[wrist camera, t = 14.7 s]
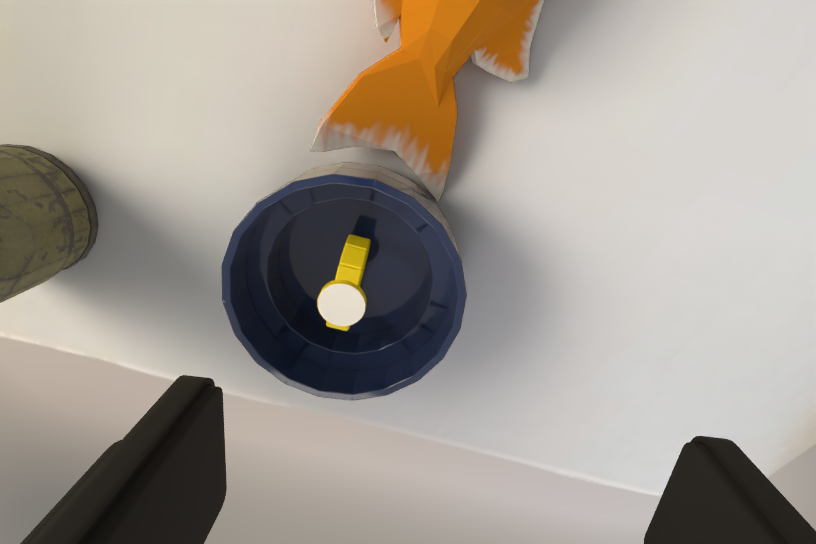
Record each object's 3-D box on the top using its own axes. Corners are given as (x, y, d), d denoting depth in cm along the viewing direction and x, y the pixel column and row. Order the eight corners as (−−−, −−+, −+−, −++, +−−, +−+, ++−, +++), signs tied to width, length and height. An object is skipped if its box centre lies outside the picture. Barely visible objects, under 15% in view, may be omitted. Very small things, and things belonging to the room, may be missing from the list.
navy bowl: (471, 176, 29) (486, 193, 23) (439, 360, 34) (444, 411, 28) (257, 148, 28) (218, 159, 23) (255, 339, 33) (223, 386, 28)
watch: (343, 221, 29) (327, 248, 24) (384, 231, 30) (377, 260, 24) (326, 300, 31) (308, 342, 26) (364, 310, 32) (354, 353, 26)
